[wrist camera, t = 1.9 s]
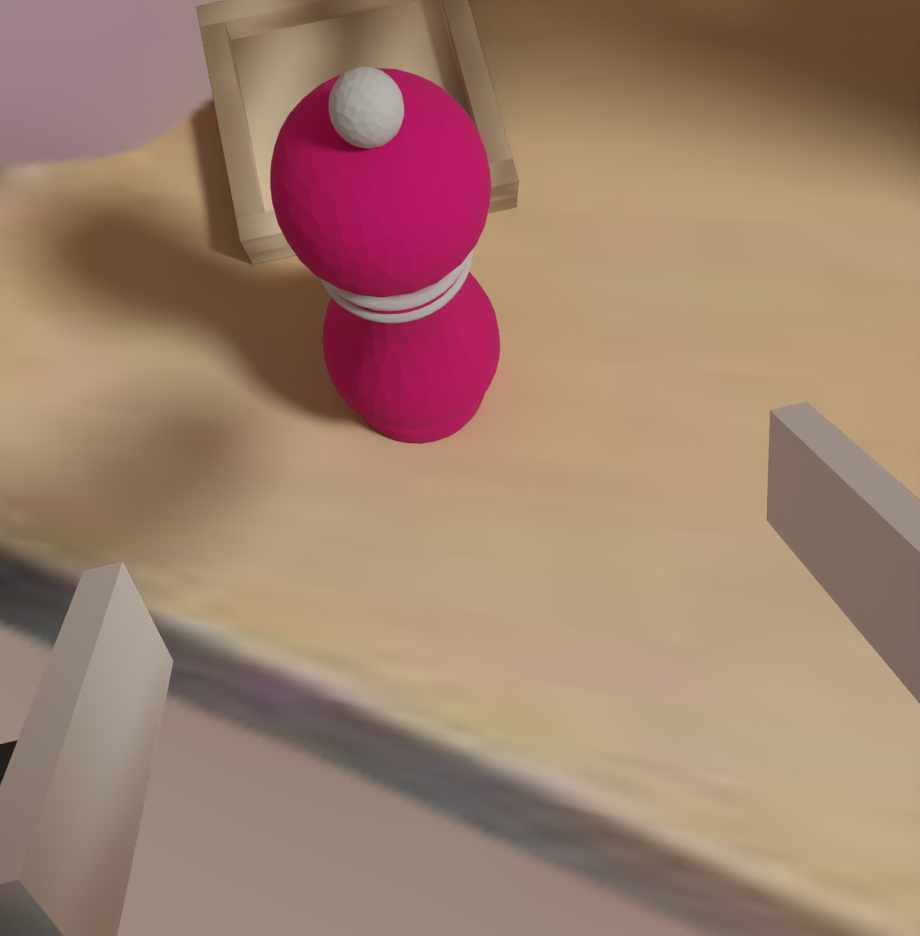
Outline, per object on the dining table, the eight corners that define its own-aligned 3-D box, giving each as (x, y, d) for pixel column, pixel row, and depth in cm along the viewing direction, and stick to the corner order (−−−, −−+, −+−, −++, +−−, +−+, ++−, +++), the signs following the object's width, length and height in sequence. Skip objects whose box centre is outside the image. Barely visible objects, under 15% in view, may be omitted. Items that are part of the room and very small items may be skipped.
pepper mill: (472, 289, 39) (472, -82, 19) (516, 431, 37) (563, 179, 18) (324, 329, 39) (173, -9, 19) (362, 473, 37) (238, 265, 17)
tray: (455, -12, 43) (455, -47, 41) (516, 206, 40) (518, 181, 38) (210, 39, 42) (196, 6, 40) (252, 264, 39) (240, 241, 37)
